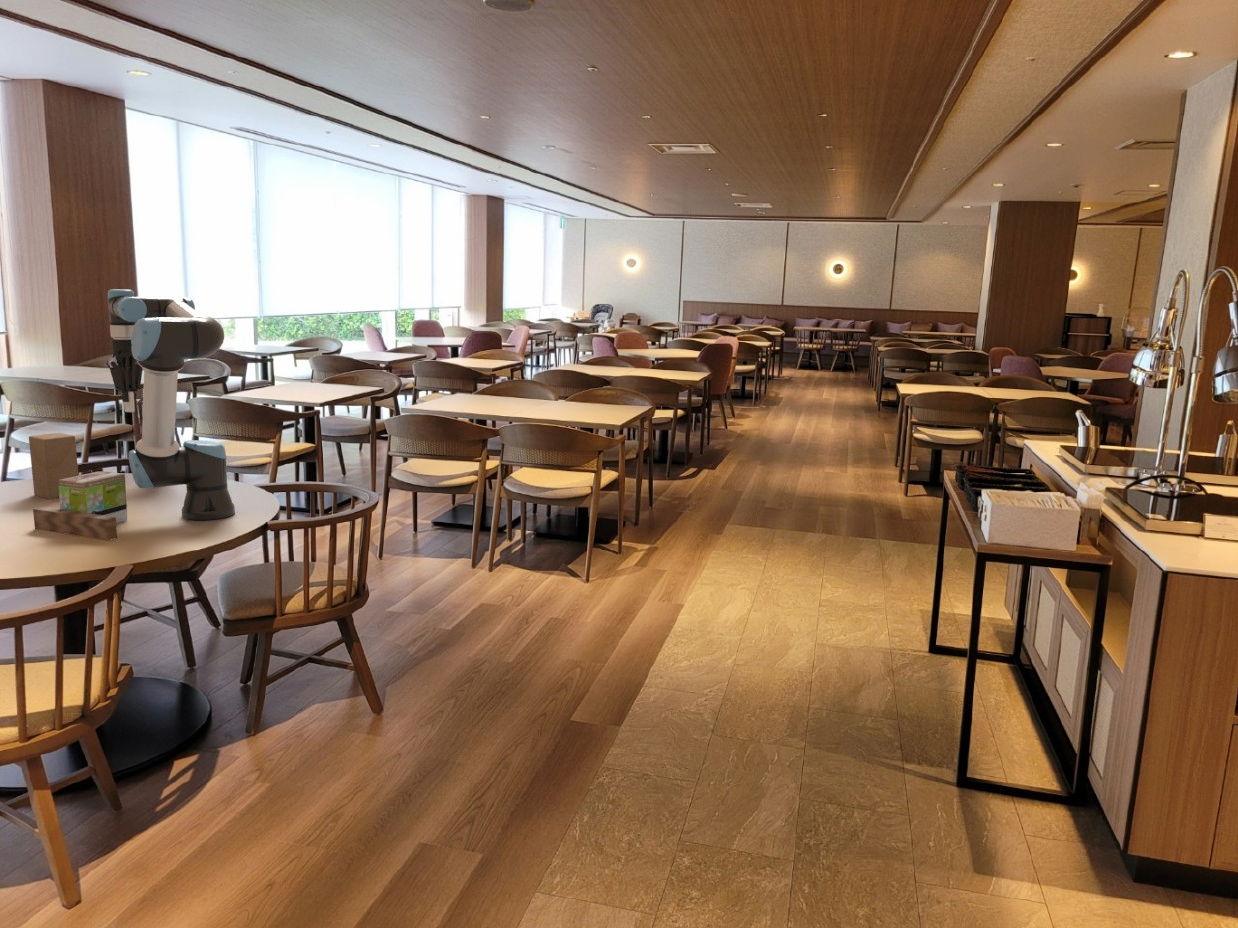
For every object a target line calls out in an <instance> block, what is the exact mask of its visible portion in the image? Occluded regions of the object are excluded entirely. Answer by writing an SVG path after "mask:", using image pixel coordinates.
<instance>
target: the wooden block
mask: <svg viewBox="0 0 1238 928" xmlns="http://www.w3.org/2000/svg"><path fill="white" fill-rule="evenodd" d="M28 444H29V454H30V461H31V462H30V464H31V472H32V473H31V475H32V482H33V483H32V484H33V494H34V496H37V497H42V498H44V499H48V500H53V499H58V498H59V481H58V480H61V479H66V478H70V477H75V476H80V475H79V465H78V455H77V454H78V453H77V443H76V436H75V435H72V434H67V433H64V432H63V433H62V432H54V433H53V432H52V433H46V434H45V433H44V434H37V435H30V436H29V437H28Z"/></svg>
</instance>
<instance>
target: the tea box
mask: <svg viewBox="0 0 1238 928" xmlns="http://www.w3.org/2000/svg"><path fill="white" fill-rule="evenodd" d="M58 481H59V509H62V510H69V511H76V512H83V513H90V514H97V515H104V516H110V517H116V524H119V523H122V522H126V521H128V509H127V508H128V504H127V488H126V475H125V473H121V472H120V473H119V472H110V471H100V470H99V471H94V472H89V473H85V474H82V475H81V474H80V475H79V476H75V477H70V478H66V479H61V480H58Z"/></svg>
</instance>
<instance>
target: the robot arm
mask: <svg viewBox="0 0 1238 928" xmlns="http://www.w3.org/2000/svg"><path fill="white" fill-rule="evenodd" d="M106 300H107V303H108V305H107V306H108V315H109V317H108V318H109V331H110V337H111V340H110V345H111V351H112V352H113V355H112V359H111V360H110V361H109V360H107V361H106V362H105V363H106V365H107V367H108V368H109V371H110V374H111V377H112V381H113V384H114V389H115V390H116V391H119V392H121V399H122V403H123V405H124V412H125V413H135V411H136V407H135V401H136V392H138V390H139V389H140V388H141V383H142V376H143V393H142V394H143V396H142V398H143V401H142V415H143V423H142V426H141V427H142V429H141V433H142V434H141V435H142V436H141V439H139V440H138V441H137V442H136V445H135V449H132V450H130V451H128V462H129V468H130V471H131V475H132V477H133V481H134V483H135V485H136V486H137V487H138V488H139V489H140V488H141V489H156V488H163V487H164V488H165V487H171V486H172V487H173V486H180V485H181V486H182V485H185V486H186V493H185V497H184V501H183V506H182V508H181V517H182V518H183V519H186V520H193V521H209V520H212V521H213V520H219V519H224V518H229V517H231V516H233V515H234V514H235V513H236V509H235V507H236V506H235V504H234V503H233V500H232V497H231V494H230V492H229V488H228V471H227V470H228V469H227V453H226V448H225V446H224V444H222V443H220V442H215V441H210V440H202V439H201V440H199V439H198V440H196V439H191V440H190V439H189V440H185V441H183V444H182V445H181V446H180V443H179V442H178V441H177V440H176V439H175V437H176V436H175V435H176V426H175V420H176V421H177V397H178V379H179V378H178V375H179V374H178V373H179V372H180V371H181V370H183V369H184V366H185V360H195V359H197V360H199V359H204V358H208V357H210V356H212V355H214V354H215V353H217V351H219V349H221V347H222V345H223V344H224V341H225V331H224V328H223V326H222V325H221V323H220V322H219V321H217V320H216V319H215V318H213V317H211V316H209V315H208V316H207V315H203V314H202V313H200V312H199V311H197V310H196V307H195V303H194V301H193V299H192V298H190V297H182V296H177V297H175V296H174V297H164V296H163V297H161V296H159V297H158V296H157V297H156V296H135V291H134V290H132V289H119V288H118V289H115V288H114V289H109V290H108V291H107V299H106Z"/></svg>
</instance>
